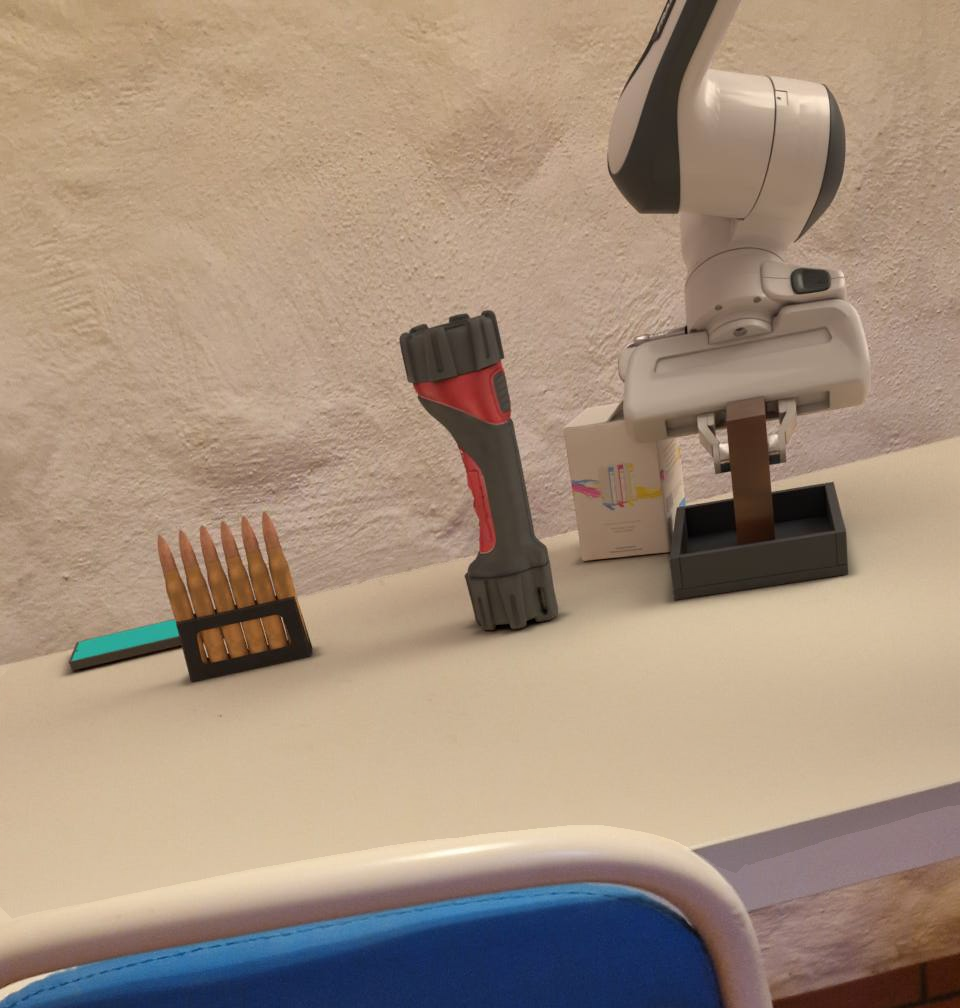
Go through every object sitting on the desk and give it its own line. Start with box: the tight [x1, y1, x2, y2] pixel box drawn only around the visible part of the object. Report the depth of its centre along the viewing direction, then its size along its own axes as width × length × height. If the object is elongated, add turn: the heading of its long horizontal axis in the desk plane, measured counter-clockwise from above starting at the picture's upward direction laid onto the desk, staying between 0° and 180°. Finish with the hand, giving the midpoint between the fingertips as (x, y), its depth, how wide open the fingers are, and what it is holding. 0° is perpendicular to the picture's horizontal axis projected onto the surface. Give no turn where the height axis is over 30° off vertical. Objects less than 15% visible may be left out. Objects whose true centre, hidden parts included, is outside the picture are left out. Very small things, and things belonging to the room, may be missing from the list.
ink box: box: [562, 398, 687, 562], centre depth 126 cm, size 9×8×13 cm
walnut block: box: [726, 396, 775, 546], centre depth 114 cm, size 3×8×10 cm, turn 171°
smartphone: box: [68, 618, 224, 671], centre depth 132 cm, size 7×1×15 cm
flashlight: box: [398, 309, 559, 631], centre depth 111 cm, size 8×8×23 cm
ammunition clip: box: [157, 510, 314, 683], centre depth 117 cm, size 11×2×12 cm, turn 94°
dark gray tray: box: [669, 481, 849, 601], centre depth 117 cm, size 14×17×3 cm
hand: (750, 464), depth 115 cm, fingers closed on walnut block, 3 cm apart
